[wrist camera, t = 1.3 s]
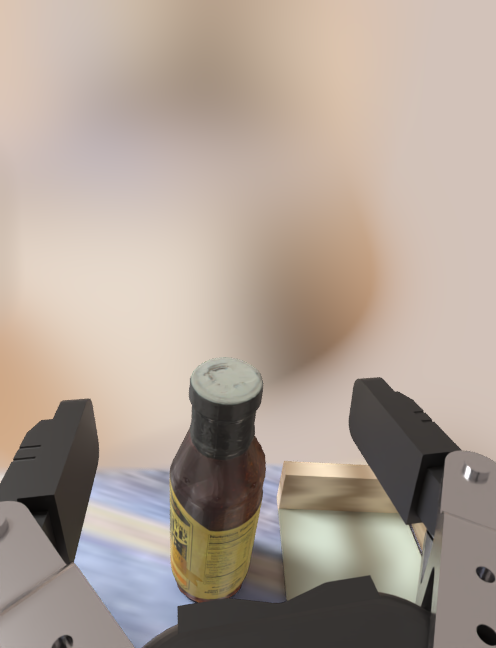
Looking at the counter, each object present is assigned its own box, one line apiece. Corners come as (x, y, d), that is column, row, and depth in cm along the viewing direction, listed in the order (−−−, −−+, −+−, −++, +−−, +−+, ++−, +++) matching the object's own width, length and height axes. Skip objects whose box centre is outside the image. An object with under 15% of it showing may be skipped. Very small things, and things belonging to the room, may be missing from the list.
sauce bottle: (175, 530, 35) (176, 336, 25) (247, 532, 35) (276, 342, 25) (164, 616, 29) (159, 408, 19) (250, 617, 29) (288, 415, 20)
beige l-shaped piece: (292, 663, 27) (304, 628, 25) (276, 492, 39) (283, 456, 36) (488, 667, 28) (519, 633, 26) (415, 498, 40) (431, 464, 37)
